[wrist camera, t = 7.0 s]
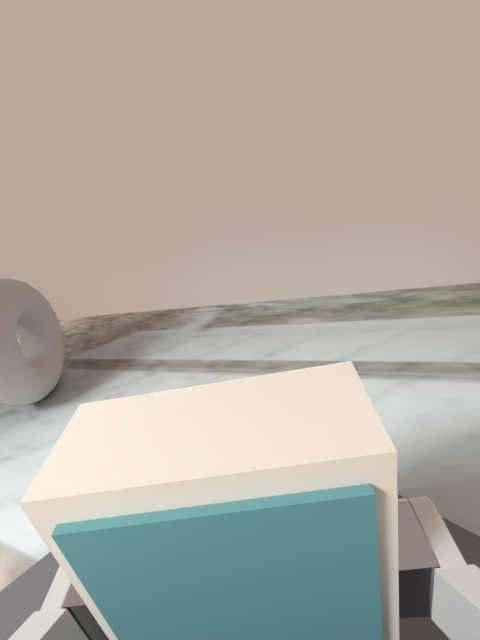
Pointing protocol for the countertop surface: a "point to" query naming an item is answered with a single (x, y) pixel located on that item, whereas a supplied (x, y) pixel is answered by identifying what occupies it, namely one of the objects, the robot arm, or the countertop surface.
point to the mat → (32, 586)
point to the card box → (228, 510)
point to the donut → (28, 344)
